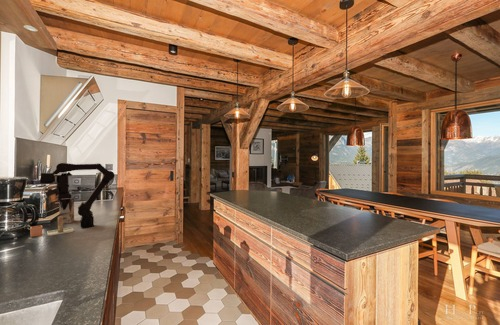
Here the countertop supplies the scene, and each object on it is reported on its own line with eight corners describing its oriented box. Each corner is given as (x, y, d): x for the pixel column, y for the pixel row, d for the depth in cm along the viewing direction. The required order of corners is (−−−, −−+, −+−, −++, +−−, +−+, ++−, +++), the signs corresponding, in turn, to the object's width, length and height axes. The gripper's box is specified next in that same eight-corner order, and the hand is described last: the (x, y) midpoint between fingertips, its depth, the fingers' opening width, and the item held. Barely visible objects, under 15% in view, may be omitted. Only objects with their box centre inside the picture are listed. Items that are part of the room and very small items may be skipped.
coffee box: (71, 223, 160) (70, 199, 160) (59, 224, 158) (58, 200, 157) (74, 220, 169) (74, 197, 168) (63, 221, 166) (63, 198, 166)
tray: (72, 229, 147) (72, 227, 147) (74, 232, 141) (74, 230, 141) (46, 233, 139) (46, 231, 139) (47, 237, 133) (47, 234, 133)
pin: (62, 231, 142) (62, 216, 141) (63, 232, 140) (63, 216, 140) (57, 232, 140) (57, 216, 140) (58, 232, 138) (57, 217, 138)
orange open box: (42, 233, 138) (41, 225, 138) (42, 235, 135) (42, 227, 135) (30, 235, 135) (30, 226, 135) (30, 237, 131) (30, 228, 131)
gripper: (44, 183, 147) (44, 208, 147) (46, 185, 133) (47, 213, 133) (67, 181, 154) (67, 205, 155) (71, 184, 141) (71, 210, 141)
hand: (63, 208), depth 146 cm, fingers open, 9 cm apart
